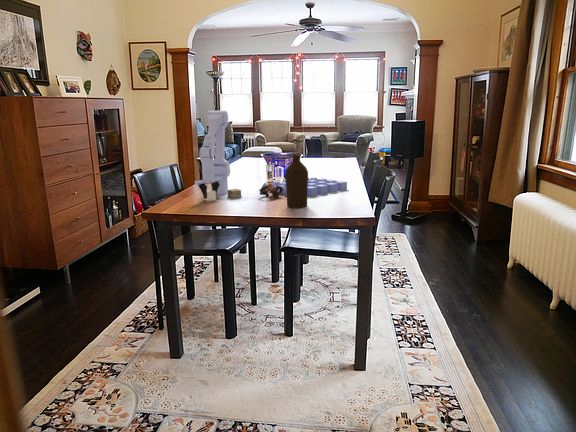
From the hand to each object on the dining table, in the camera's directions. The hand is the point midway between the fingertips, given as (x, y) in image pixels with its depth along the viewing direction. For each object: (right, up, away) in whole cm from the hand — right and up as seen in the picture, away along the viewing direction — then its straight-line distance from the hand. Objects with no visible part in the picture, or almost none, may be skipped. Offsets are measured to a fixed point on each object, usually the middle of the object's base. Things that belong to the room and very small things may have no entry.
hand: (209, 197), depth 227 cm
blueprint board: (+12, 0, +4) cm, 13 cm away
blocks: (+48, +5, +23) cm, 53 cm away
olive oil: (+44, -5, -16) cm, 47 cm away
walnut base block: (+12, 0, +4) cm, 13 cm away
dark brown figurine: (+31, 0, +2) cm, 31 cm away
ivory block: (0, -1, 0) cm, 1 cm away
